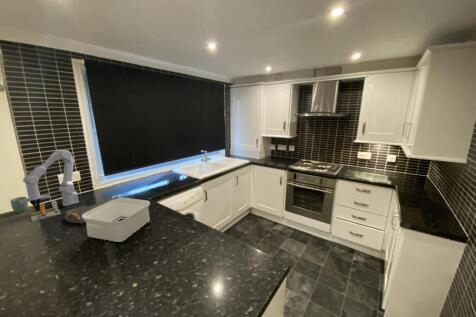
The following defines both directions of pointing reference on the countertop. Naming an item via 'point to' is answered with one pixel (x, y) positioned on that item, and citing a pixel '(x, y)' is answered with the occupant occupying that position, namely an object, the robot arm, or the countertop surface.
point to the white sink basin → (107, 215)
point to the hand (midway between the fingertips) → (37, 209)
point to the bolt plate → (48, 214)
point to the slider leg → (42, 208)
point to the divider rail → (54, 205)
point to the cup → (17, 206)
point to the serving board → (77, 215)
